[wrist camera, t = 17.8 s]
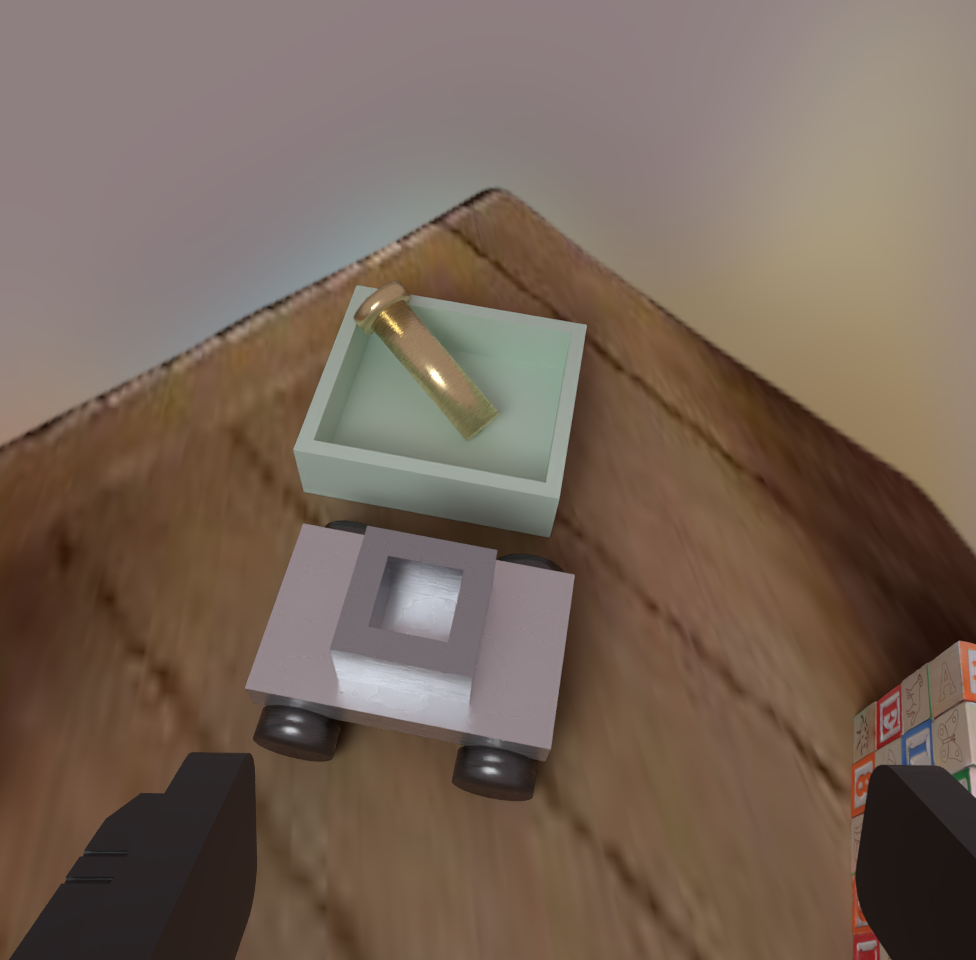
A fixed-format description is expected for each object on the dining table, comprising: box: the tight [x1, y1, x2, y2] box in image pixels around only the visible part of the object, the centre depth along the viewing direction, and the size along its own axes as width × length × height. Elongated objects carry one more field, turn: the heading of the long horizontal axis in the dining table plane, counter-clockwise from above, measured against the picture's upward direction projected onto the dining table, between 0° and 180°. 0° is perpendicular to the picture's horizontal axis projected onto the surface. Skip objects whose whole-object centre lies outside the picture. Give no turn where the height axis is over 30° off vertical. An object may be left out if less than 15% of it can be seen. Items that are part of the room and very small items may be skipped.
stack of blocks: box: [851, 641, 976, 960], centre depth 38 cm, size 21×6×12 cm, turn 166°
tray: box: [293, 285, 587, 538], centre depth 57 cm, size 17×15×5 cm
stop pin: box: [354, 281, 500, 441], centre depth 57 cm, size 4×4×12 cm
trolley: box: [245, 521, 575, 801], centre depth 45 cm, size 16×13×10 cm
